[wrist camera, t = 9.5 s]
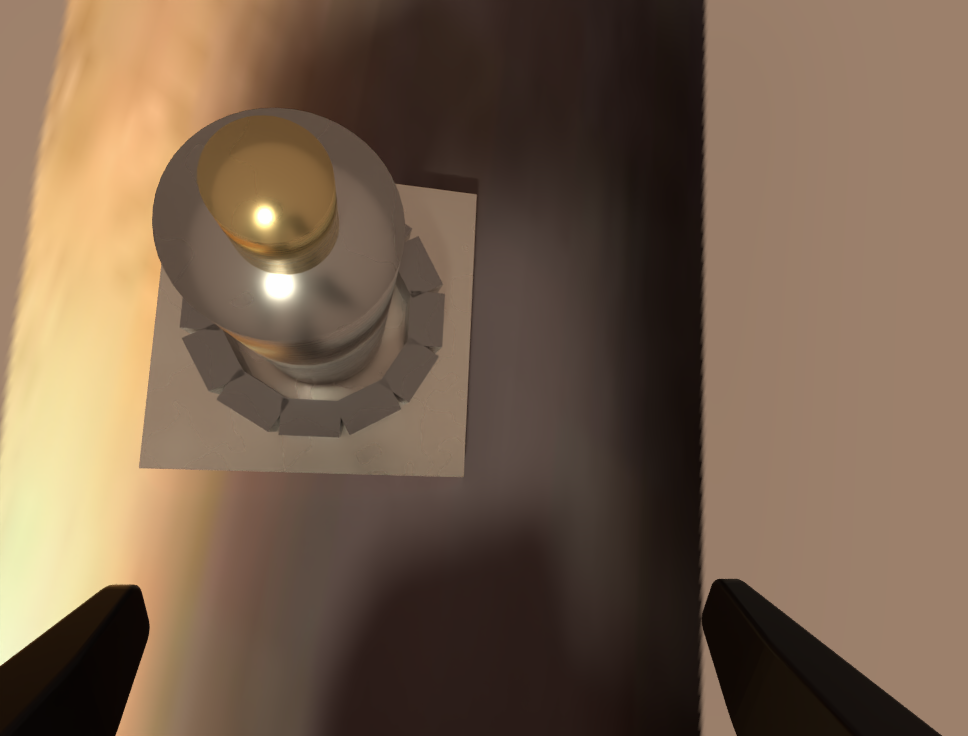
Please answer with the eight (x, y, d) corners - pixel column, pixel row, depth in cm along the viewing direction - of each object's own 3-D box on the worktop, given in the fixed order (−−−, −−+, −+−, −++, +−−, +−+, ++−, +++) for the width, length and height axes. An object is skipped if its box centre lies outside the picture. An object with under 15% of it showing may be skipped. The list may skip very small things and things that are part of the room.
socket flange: (458, 475, 23) (472, 481, 20) (149, 466, 20) (117, 471, 18) (471, 204, 24) (486, 174, 21) (181, 166, 22) (156, 129, 19)
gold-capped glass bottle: (380, 387, 21) (405, 333, 9) (250, 379, 20) (86, 308, 8) (388, 268, 22) (422, 65, 10) (261, 255, 21) (122, 13, 9)
